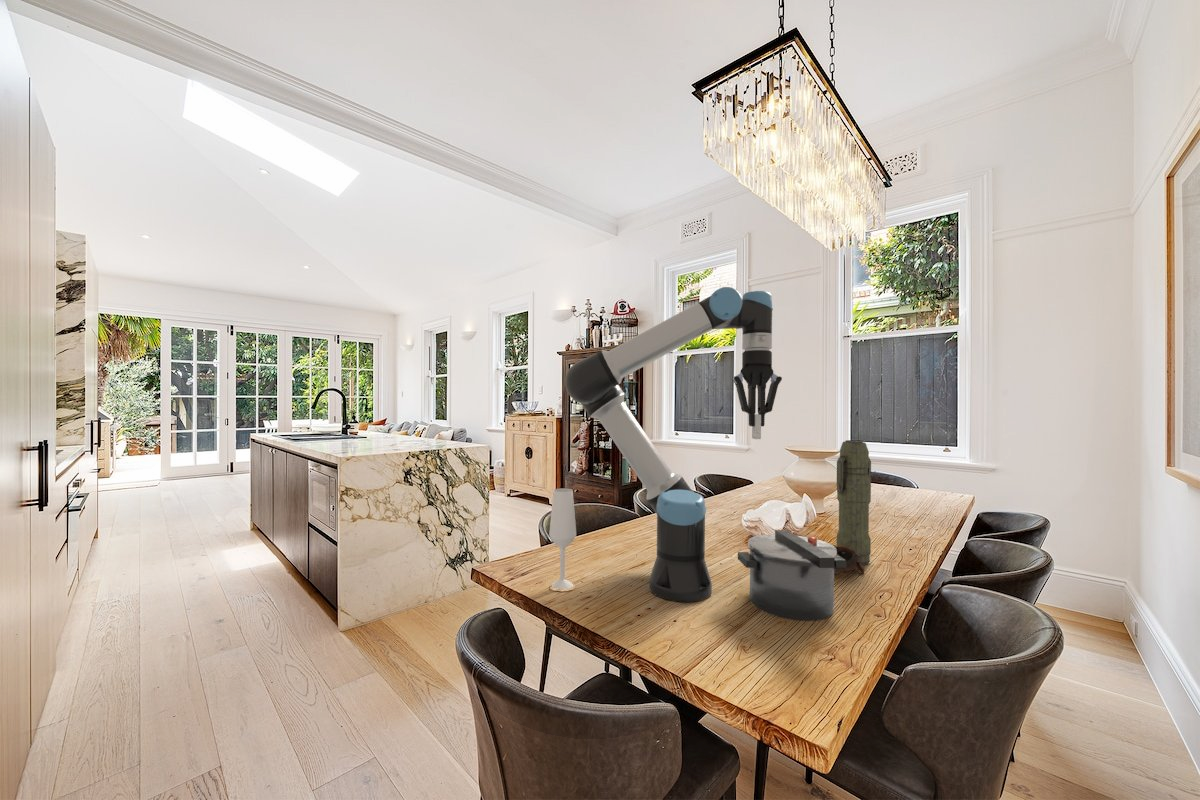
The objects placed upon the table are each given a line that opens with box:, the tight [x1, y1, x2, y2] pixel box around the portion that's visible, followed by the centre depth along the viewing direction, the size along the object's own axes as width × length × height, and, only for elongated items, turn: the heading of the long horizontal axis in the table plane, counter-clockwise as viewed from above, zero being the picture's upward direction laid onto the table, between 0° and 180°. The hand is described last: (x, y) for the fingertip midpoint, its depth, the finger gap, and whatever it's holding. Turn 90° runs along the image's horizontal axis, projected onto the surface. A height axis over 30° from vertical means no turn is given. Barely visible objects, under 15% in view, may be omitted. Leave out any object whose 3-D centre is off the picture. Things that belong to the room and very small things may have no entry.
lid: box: [747, 529, 837, 568], centre depth 108 cm, size 19×26×3 cm
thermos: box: [836, 439, 872, 565], centre depth 142 cm, size 9×12×35 cm
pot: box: [737, 549, 846, 622], centre depth 113 cm, size 23×21×12 cm
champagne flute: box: [548, 487, 577, 589], centre depth 119 cm, size 7×7×24 cm
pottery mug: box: [832, 544, 865, 575], centre depth 132 cm, size 12×10×8 cm
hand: (756, 438), depth 129 cm, fingers closed
